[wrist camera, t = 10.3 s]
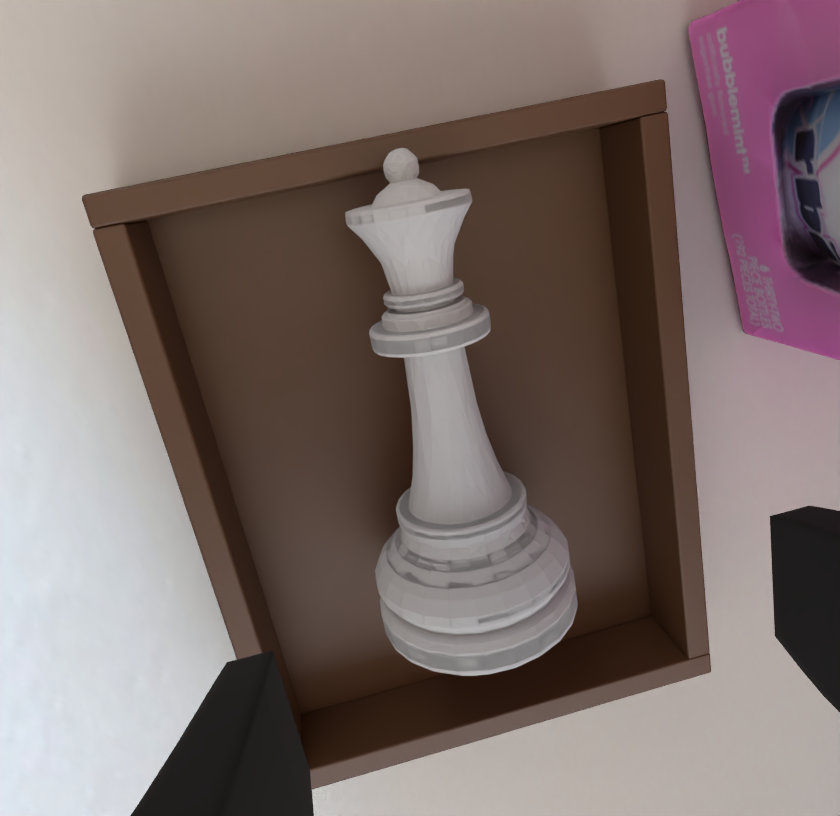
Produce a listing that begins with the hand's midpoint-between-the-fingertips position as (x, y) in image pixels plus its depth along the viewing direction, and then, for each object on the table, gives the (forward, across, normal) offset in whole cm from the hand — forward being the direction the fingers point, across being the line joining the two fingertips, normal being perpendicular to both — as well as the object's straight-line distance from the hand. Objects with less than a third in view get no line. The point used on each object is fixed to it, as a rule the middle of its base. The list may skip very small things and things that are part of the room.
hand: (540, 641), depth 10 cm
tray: (+8, 0, 0) cm, 8 cm away
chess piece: (+5, 0, +3) cm, 6 cm away
